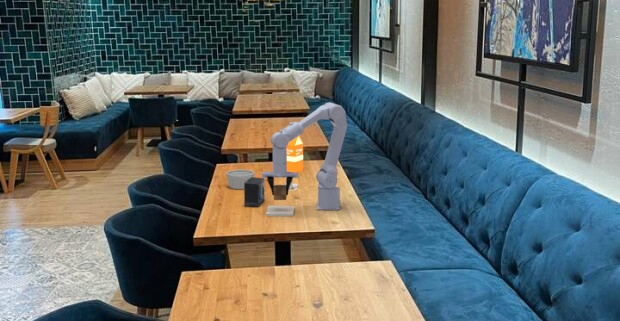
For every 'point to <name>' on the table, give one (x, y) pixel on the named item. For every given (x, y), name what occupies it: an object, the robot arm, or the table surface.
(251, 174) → the ramekin
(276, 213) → the ceramic tile
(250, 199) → the small box
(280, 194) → the walnut block
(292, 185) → the teacup and saucer
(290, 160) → the orange juice
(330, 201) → the robot arm
